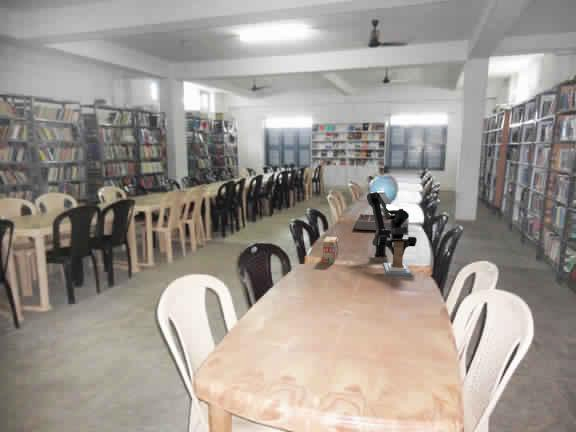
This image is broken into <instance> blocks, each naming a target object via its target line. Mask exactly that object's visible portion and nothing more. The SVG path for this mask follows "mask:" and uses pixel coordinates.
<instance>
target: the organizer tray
mask: <svg viewBox="0 0 576 432" xmlns="http://www.w3.org/2000/svg"><path fill="white" fill-rule="evenodd" d="M382 216H383V221H384V226H385V229H386V230H389V232H391V226H390V224H391V221H392V220H387V219H386V217H385V215H384V214H382ZM354 222H355V230H364V231H365V230H366V231H367V230H368V231H376V230H377V229H376V224H375V219H374V214H367V213H366V214H364V213H362V214H361V212H359V213H358V214H357V216H356V218H355V220H354ZM409 224H410V219H409V218H408V219H407V220H406V222H405V223H404V224H403V225H402V228H403V227H407V233H408V232H409Z"/></svg>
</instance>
